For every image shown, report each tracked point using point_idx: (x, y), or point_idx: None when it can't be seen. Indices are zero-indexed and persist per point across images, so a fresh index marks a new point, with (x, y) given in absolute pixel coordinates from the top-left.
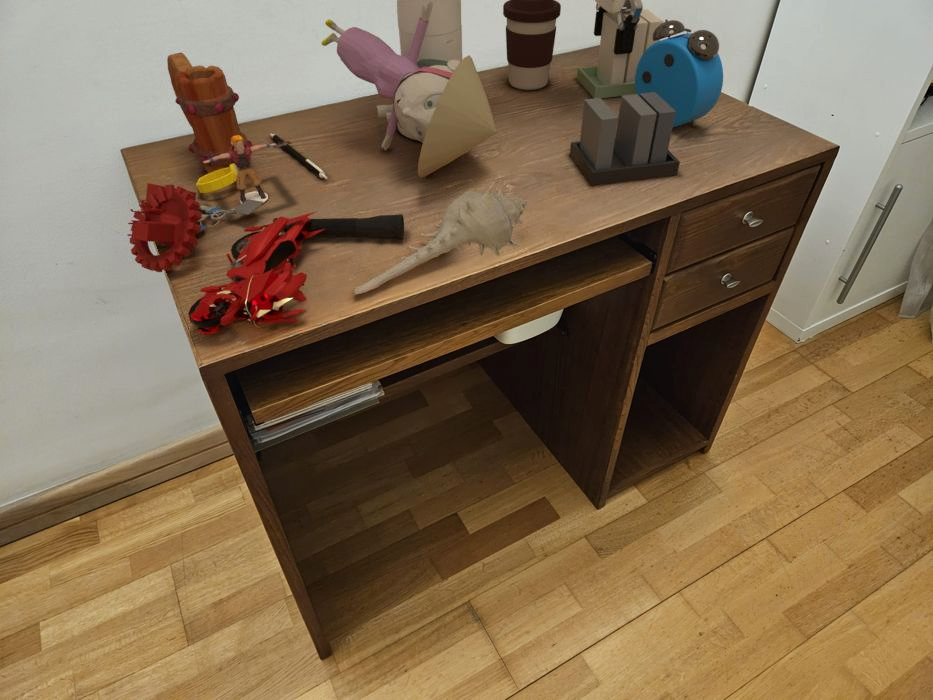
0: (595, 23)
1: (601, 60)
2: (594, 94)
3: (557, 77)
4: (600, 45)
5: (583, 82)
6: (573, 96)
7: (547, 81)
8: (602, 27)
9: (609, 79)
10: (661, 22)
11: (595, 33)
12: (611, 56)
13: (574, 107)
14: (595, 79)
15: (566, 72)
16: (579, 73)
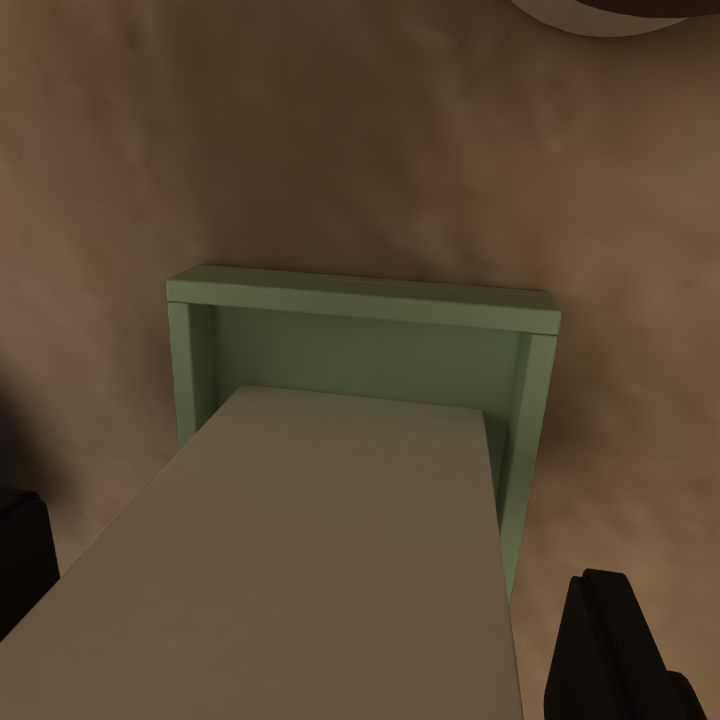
0: (643, 679)
1: (417, 465)
2: (192, 268)
3: (642, 165)
4: (480, 536)
5: (405, 284)
6: (269, 149)
7: (517, 4)
8: (499, 684)
9: (245, 411)
10: None
11: (590, 585)
12: (200, 495)
13: (101, 86)
14: (436, 383)
15: (704, 272)
16: (506, 300)
